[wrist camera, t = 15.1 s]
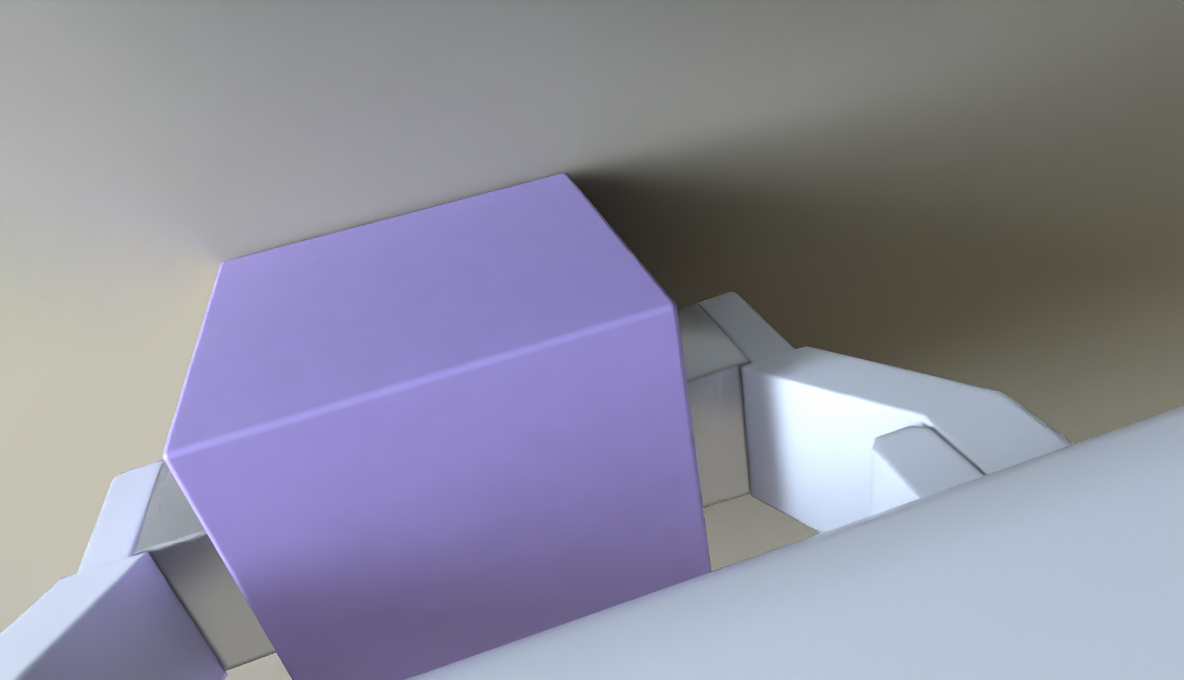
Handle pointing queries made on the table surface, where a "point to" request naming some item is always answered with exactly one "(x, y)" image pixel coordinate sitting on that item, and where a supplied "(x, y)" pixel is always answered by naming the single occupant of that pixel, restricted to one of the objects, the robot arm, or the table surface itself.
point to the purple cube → (441, 433)
